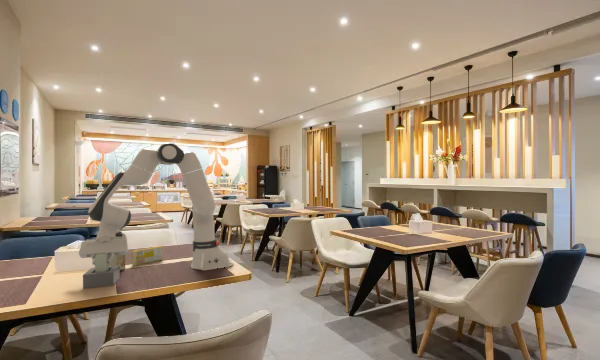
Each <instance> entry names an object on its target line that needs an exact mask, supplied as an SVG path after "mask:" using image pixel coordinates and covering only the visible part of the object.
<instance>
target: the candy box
mask: <svg viewBox="0 0 600 360" xmlns="http://www.w3.org/2000/svg"><path fill="white" fill-rule="evenodd" d="M131 255H132V256H131V257H132V261H131V263H132V266H139V265H144V264H150V263H155V262H159V261H163V246H161V245H160V246H159V245H158V246H154V247H148V248H141V249H136V250H135V249H134V250H132V251H131Z"/></svg>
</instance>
